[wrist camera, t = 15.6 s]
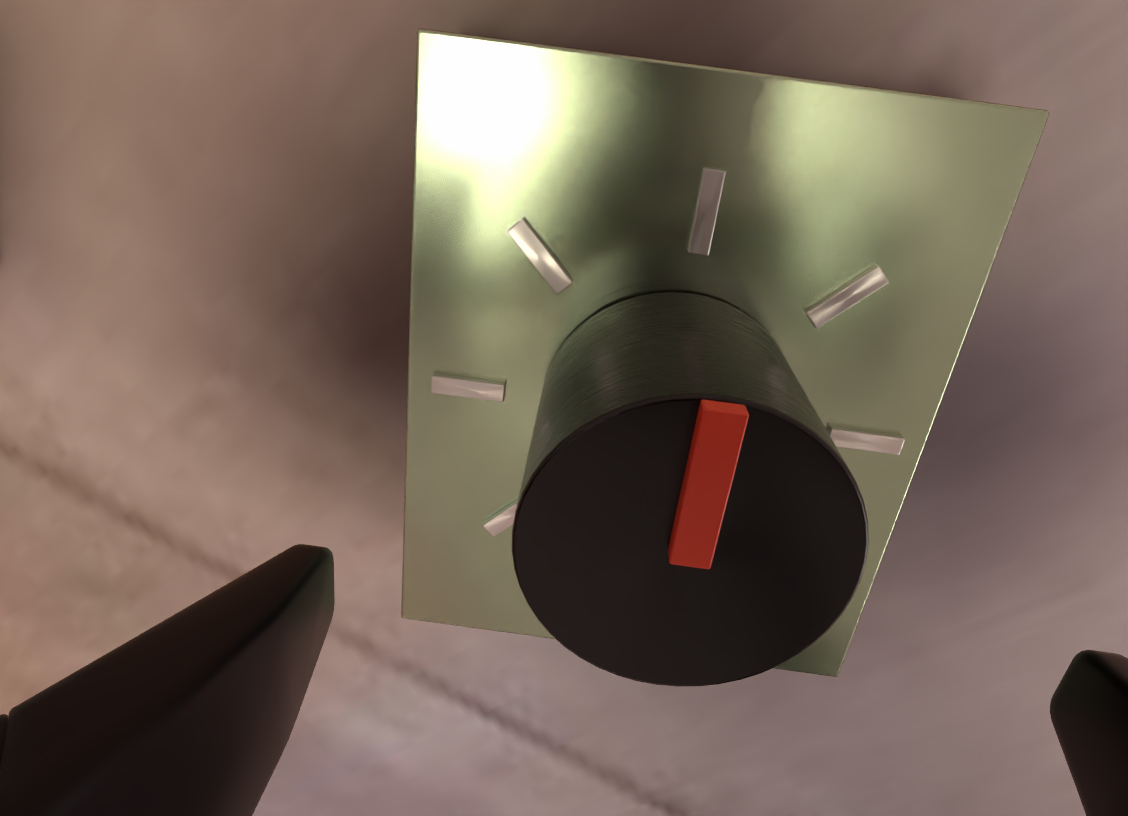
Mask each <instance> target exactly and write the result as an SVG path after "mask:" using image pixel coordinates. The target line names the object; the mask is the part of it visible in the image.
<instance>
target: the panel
mask: <svg viewBox="0 0 1128 816" xmlns="http://www.w3.org/2000/svg"><path fill="white" fill-rule="evenodd" d="M1048 116H1049V111H1047V110H1041V109H1034V108H1026V107H1019V106H1011V105H1003V104H996V103H988V102H980V101H973V100H965V99H957V98H950V97H942V96H934V95H927V94H919V93H911V92H904V91H896V90H888V89H881V88H873V87H865V86H858V85H850V84H842V83H835V82H827V81H819V80H812V79H804V78H796V77H789V76H781V75H773V74H766V73H758V72H750V71H743V70H735V69H727V68H720V67H712V66H704V65H697V64H689V63H681V62H674V61H666V60H658V59H651V58H643V57H635V56H628V55H620V54H612V53H605V52H597V51H589V50H582V49H574V48H566V47H559V46H551V45H543V44H536V43H528V42H520V41H513V40H505V39H497V38H490V37H482V36H474V35H467V34H459V33H451V32H444V31H436V30H428V29H418V32H417V64H416V100H415V136H414V172H413V208H412V245H411V281H410V317H409V353H408V389H407V425H406V462H405V498H404V534H403V570H402V606H401V617H402V618H405V619H413V620H420V621H428V622H435V623H442V624H450V625H457V626H464V627H472V628H479V629H487V630H494V631H501V632H509V633H516V634H524V635H531V636H538V637H546V638H553V639H555V638H554V637H553V636H552V635H551V634H550V633H549V632H548V631H547V630H546V628H545V627H544V626H543V625H542V624H541V623H540V621H539V620H538V619H537V617H536V616H535V614H534V613H533V611H532V610H531V608H530V607H529V605H528V603H527V601H526V599H525V597H524V595H523V593H522V591H521V588H520V586H519V583H518V580H517V577H516V573H515V570H514V565H513V557H512V550H511V548H512V528H513V522H514V517H515V511H516V507H517V502H518V498H519V493H520V489H521V484H522V480H523V475H524V471H525V466H526V461H527V457H528V452H529V448H530V443H531V439H532V434H533V430H534V425H535V421H536V416H537V411H538V407H539V402H540V398H541V393H542V389H543V384H544V381H545V378H546V375H547V372H548V369H549V367H550V365H551V363H552V361H553V359H554V357H555V355H556V354H557V352H558V351H559V349H560V348H561V347H562V345H563V344H564V342H565V341H566V340H567V339H568V338H569V337H570V336H571V334H572V333H573V332H574V331H575V330H576V329H577V328H578V327H580V326H581V325H582V324H583V323H584V322H586V321H587V320H588V319H589V318H591V317H592V316H594V315H596V314H597V313H599V312H600V311H602V310H603V309H605V308H608V307H610V306H612V305H614V304H616V303H618V302H621V301H624V300H627V299H630V298H633V297H636V296H641V295H647V294H652V293H664V292H679V293H692V294H697V295H702V296H707V297H710V298H713V299H716V300H719V301H722V302H725V303H727V304H729V305H731V306H733V307H735V308H737V309H739V310H741V311H742V312H744V313H745V314H746V315H748V316H749V317H751V318H752V319H754V320H755V321H756V322H757V323H758V324H759V325H760V326H762V327H763V328H764V329H765V330H766V331H767V332H768V334H769V335H770V336H771V337H772V338H773V340H774V341H775V342H776V343H777V345H778V347H779V348H780V350H781V352H782V353H783V355H784V357H785V358H786V360H787V362H788V364H789V365H790V367H791V369H792V371H793V372H794V374H795V376H796V378H797V379H798V381H799V383H800V384H801V386H802V388H803V390H804V391H805V393H806V395H807V397H808V398H809V400H810V402H811V404H812V405H813V407H814V409H815V411H816V412H817V414H818V416H819V418H820V419H821V421H822V423H823V424H824V426H825V428H826V430H827V431H828V433H829V435H830V437H831V438H832V440H833V442H834V444H835V445H836V447H837V449H838V451H839V452H840V454H841V456H842V458H843V459H844V461H845V463H846V464H847V466H848V468H849V470H850V471H851V473H852V475H853V477H854V478H855V480H856V482H857V485H858V487H859V490H860V492H861V495H862V497H863V500H864V504H865V509H866V513H867V518H868V532H869V543H868V551H867V559H866V563H865V567H864V570H863V574H862V578H861V581H860V583H859V585H858V587H857V589H856V592H855V594H854V596H853V598H852V599H851V601H850V603H849V604H848V606H847V607H846V609H845V610H844V612H843V614H842V615H841V616H840V617H839V618H838V620H837V621H836V622H835V623H834V624H833V625H832V627H831V628H830V629H829V630H828V631H827V632H826V633H825V634H824V635H822V636H821V637H820V638H819V639H818V640H817V641H816V642H815V643H814V644H812V645H811V646H809V647H808V648H807V649H805V650H804V651H802V652H801V653H800V654H798V655H797V656H795V657H793V658H791V659H789V660H788V661H786V662H784V663H782V664H781V665H779V666H776V667H774V668H775V669H782V670H790V671H797V672H804V673H812V674H819V675H827V676H834V677H837V676H838V674H839V672H840V669H841V666H842V664H843V661H844V658H845V656H846V653H847V650H848V648H849V645H850V642H851V640H852V637H853V634H854V632H855V629H856V627H857V624H858V621H859V619H860V616H861V613H862V611H863V608H864V605H865V603H866V600H867V597H868V595H869V592H870V589H871V587H872V584H873V581H874V579H875V576H876V573H877V571H878V568H879V565H880V563H881V560H882V557H883V555H884V552H885V549H886V547H887V544H888V541H889V539H890V536H891V533H892V531H893V528H894V525H895V523H896V520H897V518H898V515H899V512H900V510H901V507H902V504H903V502H904V499H905V496H906V494H907V491H908V488H909V486H910V483H911V480H912V478H913V475H914V472H915V470H916V467H917V464H918V462H919V459H920V456H921V454H922V451H923V448H924V446H925V443H926V440H927V438H928V435H929V432H930V430H931V427H932V424H933V422H934V419H935V417H936V414H937V411H938V409H939V406H940V403H941V401H942V398H943V395H944V393H945V390H946V387H947V385H948V382H949V379H950V377H951V374H952V371H953V369H954V366H955V363H956V361H957V358H958V355H959V353H960V350H961V347H962V345H963V342H964V339H965V337H966V334H967V331H968V329H969V326H970V323H971V321H972V318H973V315H974V313H975V310H976V308H977V305H978V302H979V300H980V297H981V294H982V292H983V289H984V286H985V284H986V281H987V278H988V276H989V273H990V270H991V268H992V265H993V262H994V260H995V257H996V254H997V252H998V249H999V246H1000V244H1001V241H1002V238H1003V236H1004V233H1005V230H1006V228H1007V225H1008V222H1009V220H1010V217H1011V214H1012V212H1013V209H1014V206H1015V204H1016V201H1017V199H1018V196H1019V193H1020V191H1021V188H1022V185H1023V183H1024V180H1025V177H1026V175H1027V172H1028V169H1029V167H1030V164H1031V161H1032V159H1033V156H1034V153H1035V151H1036V148H1037V145H1038V143H1039V140H1040V137H1041V135H1042V132H1043V129H1044V127H1045V124H1046V121H1047V119H1048Z"/></svg>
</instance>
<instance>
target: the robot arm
mask: <svg viewBox="0 0 1128 816" xmlns="http://www.w3.org/2000/svg"><path fill="white" fill-rule="evenodd" d="M333 611H334V561H333V555H332V552H331V551H330V550H329V549H328V548H326V547H319V546H312V545H304V544H298V545H295V546H292V547H291V548H289V549H287V550H285V551H284V552H282V553H280V554H278V555H277V556H275V557H273V558H272V559H270V560H268V561H266V562H265V563H263V564H261V565H259V566H258V567H256V568H254V569H253V570H251V571H249V572H247V573H246V574H244V575H242V576H240V577H239V578H237V579H235V580H233V581H232V582H230V583H228V584H227V585H225V586H223V587H221V588H220V589H218V590H216V591H214V592H213V593H211V594H209V595H208V596H206V597H204V598H202V599H201V600H199V601H197V602H195V603H194V604H192V605H190V606H189V607H187V608H185V609H183V610H182V611H180V612H178V613H176V614H175V615H173V616H171V617H170V618H168V619H166V620H164V621H163V622H161V623H159V624H157V625H156V626H154V627H152V628H151V629H149V630H147V631H145V632H144V633H142V634H140V635H138V636H137V637H135V638H133V639H132V640H130V641H128V642H126V643H125V644H123V645H121V646H119V647H118V648H116V649H114V650H113V651H111V652H109V653H107V654H106V655H104V656H102V657H100V658H99V659H97V660H95V661H93V662H92V663H90V664H88V665H87V666H85V667H83V668H81V669H80V670H78V671H76V672H74V673H73V674H71V675H69V676H68V677H66V678H64V679H62V680H61V681H59V682H57V683H55V684H54V685H52V686H50V687H49V688H47V689H45V690H43V691H42V692H40V693H38V694H36V695H35V696H33V697H31V698H30V699H28V700H26V701H24V702H23V703H21V704H19V705H17V706H16V707H14V708H12V709H11V711H10V713H9V716H8V715H6V714H2V715H0V816H252V815H253V813H254V810H255V808H256V806H257V804H258V802H259V800H260V798H261V796H262V794H263V792H264V790H265V788H266V786H267V784H268V782H269V780H270V778H271V776H272V774H273V771H274V769H275V767H276V765H277V763H278V761H279V759H280V757H281V755H282V753H283V750H284V748H285V746H286V744H287V742H288V739H289V737H290V734H291V732H292V729H293V726H294V724H295V721H296V719H297V716H298V713H299V710H300V707H301V704H302V702H303V699H304V696H305V693H306V690H307V688H308V685H309V682H310V679H311V676H312V674H313V671H314V668H315V665H316V662H317V660H318V657H319V654H320V651H321V648H322V645H323V643H324V640H325V637H326V634H327V631H328V629H329V626H330V623H331V620H332V616H333ZM1050 714H1051V719H1052V723H1053V725H1054V728H1055V731H1056V734H1057V736H1058V739H1059V742H1060V744H1061V747H1062V750H1063V753H1064V755H1065V758H1066V761H1067V764H1068V766H1069V769H1070V772H1071V774H1072V777H1073V780H1074V783H1075V785H1076V788H1077V791H1078V793H1079V796H1080V799H1081V802H1082V804H1083V807H1084V810H1085V812H1086V815H1087V816H1128V658H1126V657H1124V656H1122V655H1119V654H1115V653H1108V652H1101V651H1093V650H1085V651H1081V652H1080V653H1078V654H1077V655H1076V656H1075V657H1074V658H1073V660H1072V662H1071V664H1070V665H1069V667H1068V669H1067V671H1066V673H1065V675H1064V676H1063V678H1062V680H1061V682H1060V684H1059V685H1058V687H1057V689H1056V691H1055V693H1054V695H1053V697H1052V699H1051V704H1050Z"/></svg>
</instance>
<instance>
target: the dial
mask: <svg viewBox="0 0 1128 816" xmlns="http://www.w3.org/2000/svg"><path fill="white" fill-rule="evenodd" d="M868 543H869V532H868V518H867V513H866V509H865V504H864V500H863V497H862V495H861V492H860V490H859V487H858V485H857V482H856V480H855V478H854V477H853V475H852V473H851V471H850V470H849V468H848V466H847V464H846V463H845V461H844V459H843V458H842V456H841V454H840V452H839V451H838V449H837V447H836V445H835V444H834V442H833V440H832V438H831V437H830V435H829V433H828V431H827V430H826V428H825V426H824V424H823V423H822V421H821V419H820V418H819V416H818V414H817V412H816V411H815V409H814V407H813V405H812V404H811V402H810V400H809V398H808V397H807V395H806V393H805V391H804V390H803V388H802V386H801V384H800V383H799V381H798V379H797V378H796V376H795V374H794V372H793V371H792V369H791V367H790V365H789V364H788V362H787V360H786V358H785V357H784V355H783V353H782V352H781V350H780V348H779V347H778V345H777V343H776V342H775V341H774V340H773V338H772V337H771V336H770V335H769V334H768V332H767V331H766V330H765V329H764V328H763V327H762V326H760V325H759V324H758V323H757V322H756V321H755V320H754V319H752V318H751V317H749V316H748V315H746V314H745V313H744V312H742V311H741V310H739V309H737V308H735V307H733V306H731V305H729V304H727V303H725V302H722V301H719V300H716V299H713V298H710V297H707V296H702V295H697V294H692V293H679V292H664V293H652V294H647V295H641V296H636V297H633V298H630V299H627V300H624V301H621V302H618V303H616V304H614V305H612V306H610V307H608V308H605V309H603V310H602V311H600V312H599V313H597V314H596V315H594V316H592V317H591V318H589V319H588V320H587V321H586V322H584V323H583V324H582V325H581V326H580V327H578V328H577V329H576V330H575V331H574V332H573V333H572V334H571V336H570V337H569V338H568V339H567V340H566V341H565V342H564V344H563V345H562V347H561V348H560V349H559V351H558V352H557V354H556V355H555V357H554V359H553V361H552V363H551V365H550V367H549V369H548V372H547V375H546V378H545V381H544V384H543V389H542V393H541V398H540V402H539V407H538V411H537V416H536V421H535V425H534V430H533V434H532V439H531V443H530V448H529V452H528V457H527V461H526V466H525V471H524V475H523V480H522V484H521V489H520V493H519V498H518V502H517V507H516V511H515V517H514V522H513V528H512V548H511V550H512V557H513V565H514V570H515V573H516V577H517V580H518V583H519V586H520V588H521V591H522V593H523V595H524V597H525V599H526V601H527V603H528V605H529V607H530V608H531V610H532V611H533V613H534V614H535V616H536V617H537V619H538V620H539V621H540V623H541V624H542V625H543V626H544V627H545V628H546V630H547V631H548V632H549V633H550V634H551V635H552V636H553V637H554V638H555V639H556V640H558V641H559V642H560V643H561V644H562V645H563V646H564V647H566V648H567V649H568V650H570V651H571V652H573V653H574V654H576V655H577V656H579V657H580V658H582V659H583V660H585V661H587V662H589V663H591V664H593V665H595V666H596V667H598V668H601V669H603V670H606V671H608V672H610V673H613V674H615V675H618V676H622V677H625V678H629V679H632V680H635V681H640V682H646V683H651V684H656V685H667V686H705V685H714V684H721V683H726V682H731V681H736V680H741V679H744V678H747V677H750V676H753V675H757V674H760V673H762V672H765V671H767V670H769V669H772V668H774V667H776V666H779V665H781V664H782V663H784V662H786V661H788V660H789V659H791V658H793V657H795V656H797V655H798V654H800V653H801V652H802V651H804V650H805V649H807V648H808V647H809V646H811V645H812V644H814V643H815V642H816V641H817V640H818V639H819V638H820V637H821V636H822V635H824V634H825V633H826V632H827V631H828V630H829V629H830V628H831V627H832V625H833V624H834V623H835V622H836V621H837V620H838V618H839V617H840V616H841V615H842V614H843V612H844V610H845V609H846V607H847V606H848V604H849V603H850V601H851V599H852V598H853V596H854V594H855V592H856V589H857V587H858V585H859V583H860V581H861V578H862V574H863V570H864V567H865V563H866V559H867V551H868Z"/></svg>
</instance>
